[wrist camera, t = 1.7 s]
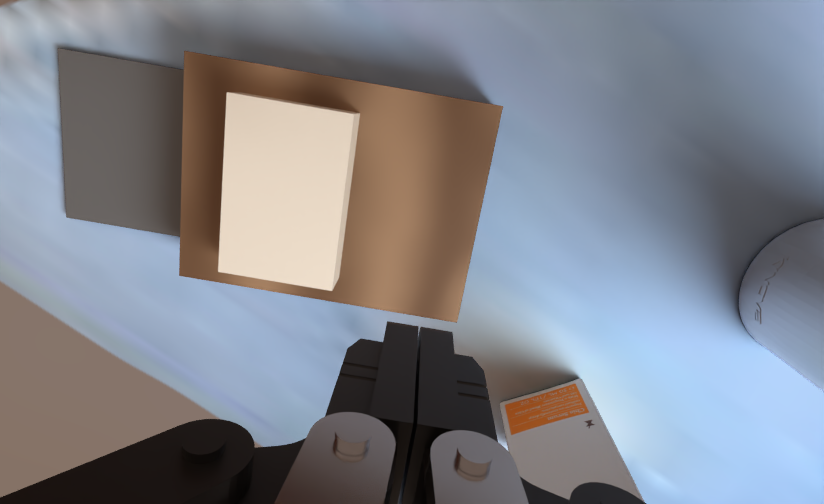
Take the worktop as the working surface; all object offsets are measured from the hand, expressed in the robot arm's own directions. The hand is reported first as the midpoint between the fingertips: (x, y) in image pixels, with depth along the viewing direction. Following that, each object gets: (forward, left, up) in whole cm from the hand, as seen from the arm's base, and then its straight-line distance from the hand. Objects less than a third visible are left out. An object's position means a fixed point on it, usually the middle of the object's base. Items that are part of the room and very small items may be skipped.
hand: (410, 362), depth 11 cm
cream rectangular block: (+7, 0, -16) cm, 17 cm away
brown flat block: (+5, 0, -20) cm, 20 cm away
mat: (+18, 0, -20) cm, 26 cm away
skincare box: (-11, +13, -20) cm, 26 cm away
